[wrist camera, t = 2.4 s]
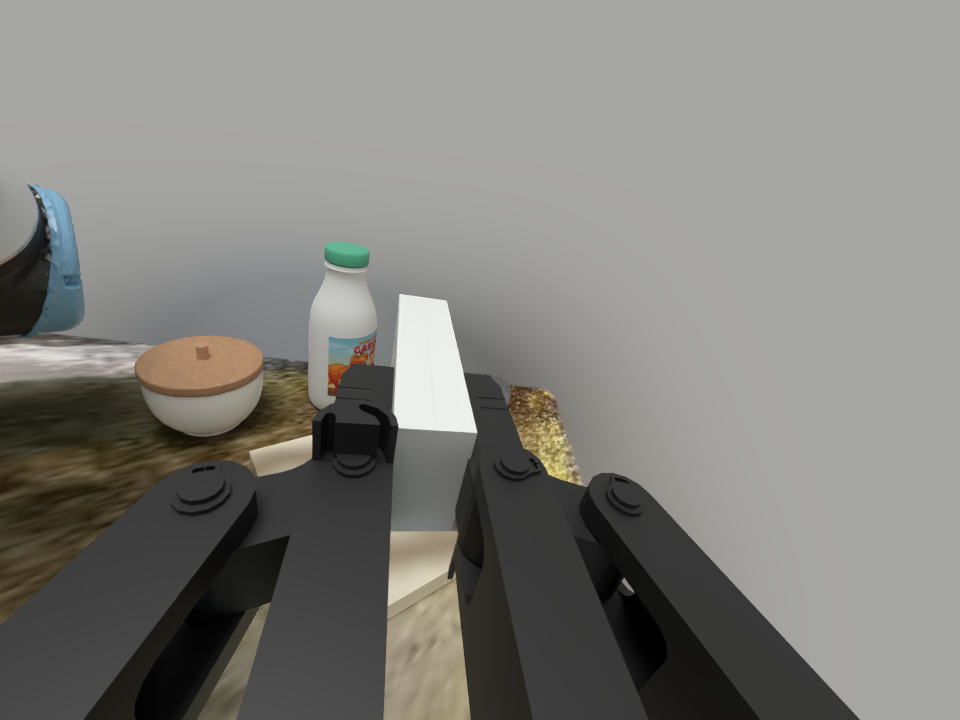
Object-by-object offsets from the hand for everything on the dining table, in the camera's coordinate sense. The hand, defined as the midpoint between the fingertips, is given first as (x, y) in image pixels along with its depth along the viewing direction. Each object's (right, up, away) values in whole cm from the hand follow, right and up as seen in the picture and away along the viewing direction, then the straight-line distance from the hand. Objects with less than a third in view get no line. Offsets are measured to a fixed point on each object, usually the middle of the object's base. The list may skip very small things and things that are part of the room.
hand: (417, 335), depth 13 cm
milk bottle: (-17, -6, +38) cm, 42 cm away
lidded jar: (-28, -8, +30) cm, 42 cm away
